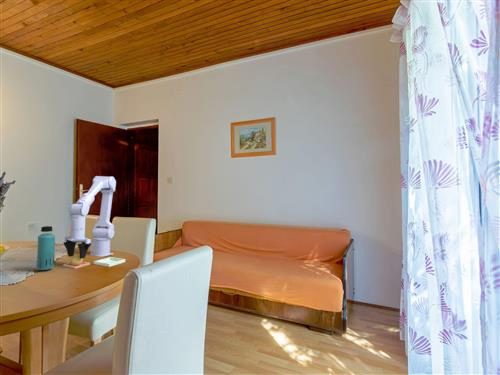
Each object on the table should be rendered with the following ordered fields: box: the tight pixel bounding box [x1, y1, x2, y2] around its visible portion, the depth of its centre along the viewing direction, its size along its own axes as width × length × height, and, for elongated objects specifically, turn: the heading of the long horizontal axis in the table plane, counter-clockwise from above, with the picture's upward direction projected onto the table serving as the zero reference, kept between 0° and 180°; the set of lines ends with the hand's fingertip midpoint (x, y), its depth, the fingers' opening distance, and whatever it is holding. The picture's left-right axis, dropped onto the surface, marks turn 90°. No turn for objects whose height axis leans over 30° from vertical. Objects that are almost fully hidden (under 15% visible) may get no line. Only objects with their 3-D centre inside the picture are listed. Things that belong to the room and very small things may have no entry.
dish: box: [61, 261, 91, 270], centre depth 130 cm, size 8×8×1 cm
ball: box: [69, 254, 84, 266], centre depth 130 cm, size 5×5×5 cm
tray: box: [93, 256, 126, 268], centre depth 136 cm, size 10×10×2 cm
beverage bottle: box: [35, 225, 56, 271], centre depth 121 cm, size 6×7×20 cm
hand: (76, 257), depth 130 cm, fingers open, 7 cm apart
